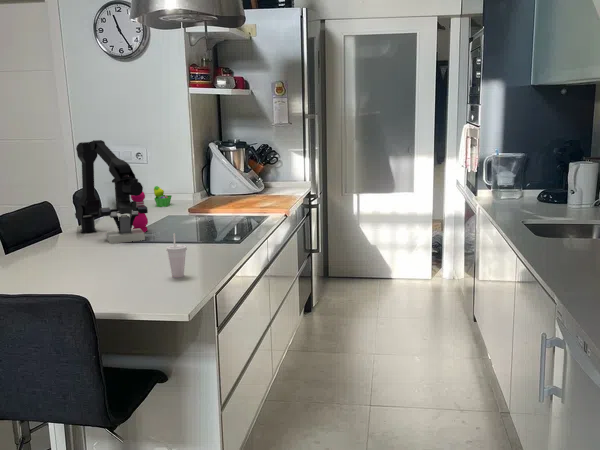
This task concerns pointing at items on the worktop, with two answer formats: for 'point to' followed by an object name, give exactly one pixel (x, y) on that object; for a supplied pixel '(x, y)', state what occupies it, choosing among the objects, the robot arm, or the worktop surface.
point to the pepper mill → (141, 219)
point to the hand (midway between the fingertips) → (125, 231)
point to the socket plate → (125, 236)
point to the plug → (124, 224)
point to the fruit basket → (161, 197)
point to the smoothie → (177, 259)
